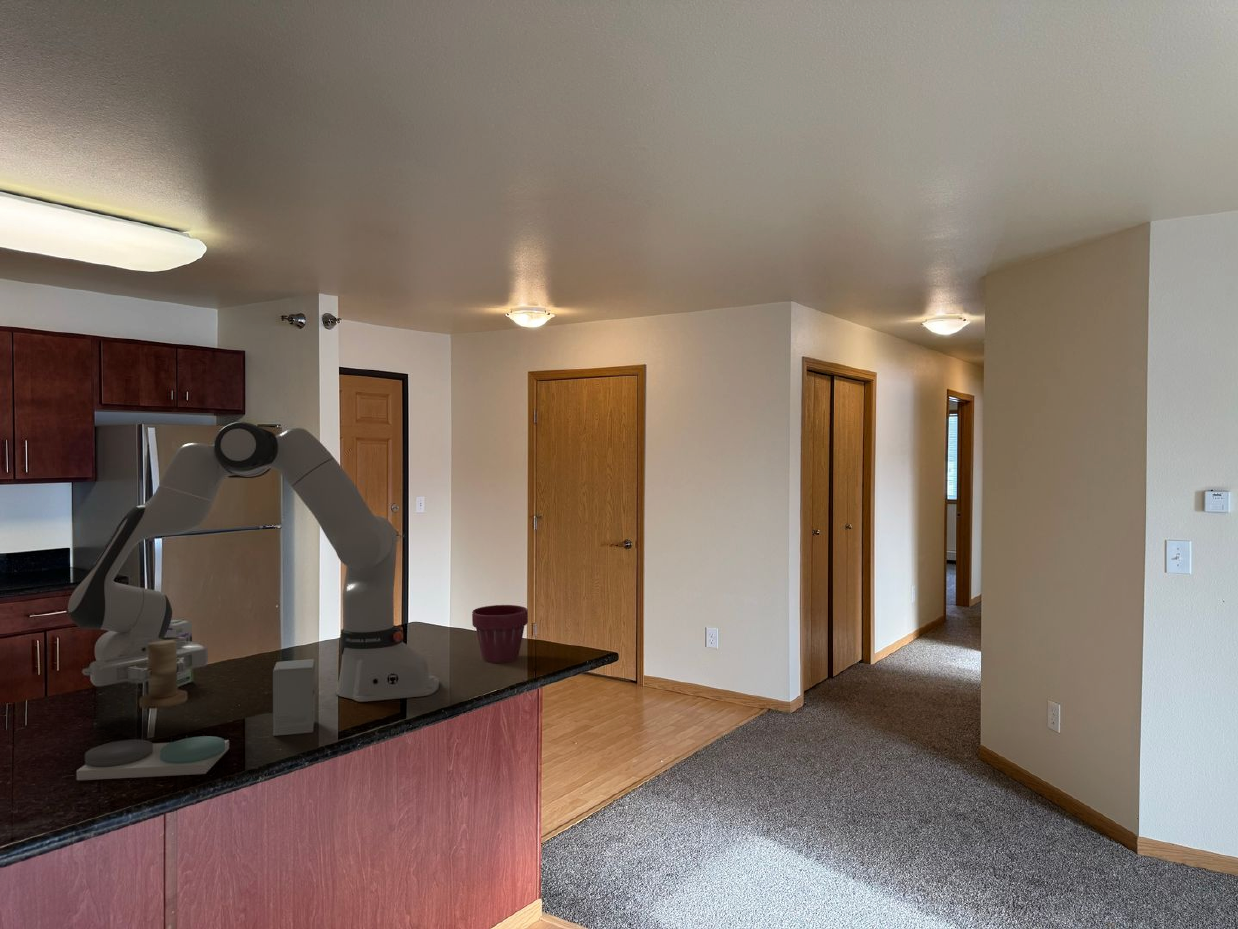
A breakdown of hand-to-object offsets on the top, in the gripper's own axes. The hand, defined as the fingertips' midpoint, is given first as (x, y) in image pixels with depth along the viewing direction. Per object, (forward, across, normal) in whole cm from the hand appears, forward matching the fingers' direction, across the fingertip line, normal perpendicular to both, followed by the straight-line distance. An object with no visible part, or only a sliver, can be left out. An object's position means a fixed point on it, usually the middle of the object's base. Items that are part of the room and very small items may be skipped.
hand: (164, 671), depth 159 cm
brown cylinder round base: (-1, 0, +6) cm, 6 cm away
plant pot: (0, +81, +14) cm, 82 cm away
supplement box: (+14, +19, +13) cm, 26 cm away
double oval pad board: (+14, -6, +13) cm, 20 cm away
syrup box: (-38, +15, +13) cm, 43 cm away
